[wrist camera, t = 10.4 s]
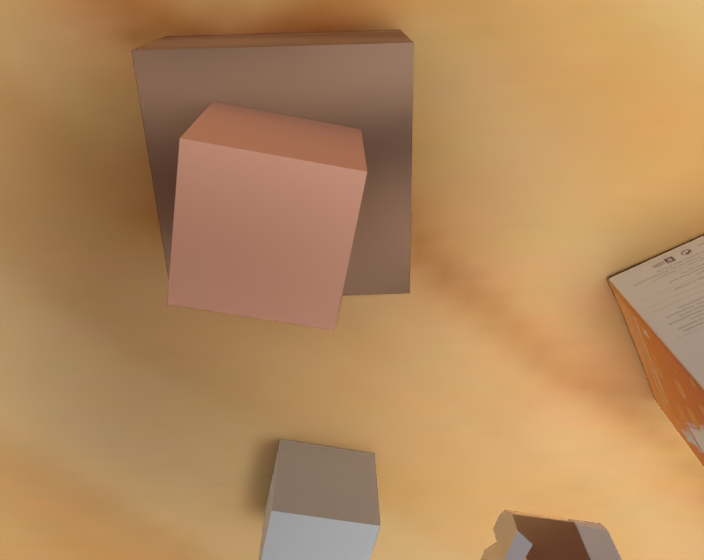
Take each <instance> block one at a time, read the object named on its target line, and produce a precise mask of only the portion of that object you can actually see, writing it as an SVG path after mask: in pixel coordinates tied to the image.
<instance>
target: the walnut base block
mask: <svg viewBox="0 0 704 560" xmlns="http://www.w3.org/2000/svg"><path fill="white" fill-rule="evenodd" d="M132 57H133V63H134V69H135V75H136V81H137V87H138V93H139V100H140V106H141V112H142V118H143V124H144V130H145V136H146V143H147V149H148V155H149V161H150V167H151V173H152V179H153V186H154V192H155V198H156V204H157V210H158V216H159V222H160V229H161V235H162V241H163V247H164V253H165V259H166V265H167V272H168V278H169V273H170V260H171V247H172V234H173V221H174V208H175V194H176V181H177V168H178V155H179V142H180V137H181V136H182V135H183V134H184V133H185V132H186V131H187V130H188V129H189V127H190V126H191V125H192V124H193V123H194V122H195V121H196V120H197V119H198V117H199V116H200V115H201V114H202V113H203V112H204V111H205V110H206V109H207V107H208V106H209V105H210V104H211V103H212V102H217V103H223V104H228V105H233V106H239V107H244V108H250V109H255V110H260V111H266V112H271V113H276V114H282V115H287V116H293V117H298V118H303V119H309V120H314V121H319V122H325V123H330V124H336V125H341V126H346V127H352V128H357V129H361V131H362V138H363V145H364V152H365V159H366V166H367V176H366V181H365V186H364V191H363V196H362V200H361V205H360V210H359V215H358V220H357V225H356V230H355V234H354V239H353V244H352V249H351V254H350V259H349V264H348V268H347V273H346V278H345V283H344V288H343V293H342V295H372V294H403V293H410V233H411V166H412V99H413V42H412V41H411V40H410V39H409V38H408V37H407V36H406V35H405V34H404V33H403V32H402V31H401V30H377V31H343V32H308V33H273V34H238V35H203V36H168V37H164V38H161V39H159V40H157V41H154V42H152V43H149V44H147V45H144V46H142V47H139V48H137V49H135V50H132Z"/></svg>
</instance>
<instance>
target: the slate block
mask: <svg viewBox="0 0 704 560" xmlns="http://www.w3.org/2000/svg"><path fill="white" fill-rule="evenodd" d="M379 529H380V516H379V503H378V491H377V478H376V466H375V453H369V452H362V451H356V450H349V449H342V448H336V447H329V446H323V445H316V444H310V443H303V442H297V441H290V440H284V439H280V441H279V446H278V451H277V456H276V460H275V465H274V470H273V475H272V480H271V484H270V489H269V494H268V499H267V504H266V508H265V515H264V523H263V531H262V538H261V546H260V554H259V560H370V557H371V554H372V551H373V548H374V545H375V541H376V538H377V535H378V532H379Z"/></svg>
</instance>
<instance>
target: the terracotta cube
mask: <svg viewBox="0 0 704 560" xmlns="http://www.w3.org/2000/svg"><path fill="white" fill-rule="evenodd" d="M366 176H367V166H366V159H365V152H364V145H363V138H362V131H361V129H357V128H352V127H346V126H341V125H336V124H330V123H325V122H319V121H314V120H309V119H303V118H298V117H293V116H287V115H282V114H276V113H271V112H266V111H260V110H255V109H250V108H244V107H239V106H233V105H228V104H223V103H217V102H212V103H211V104H210V105H209V106H208V107H207V109H206V110H205V111H204V112H203V113H202V114H201V115H200V116H199V117H198V119H197V120H196V121H195V122H194V123H193V124H192V125H191V126H190V127H189V129H188V130H187V131H186V132H185V133H184V134H183V135H182V136H181V137H180V142H179V155H178V168H177V181H176V194H175V208H174V221H173V234H172V247H171V260H170V273H169V287H168V300H167V305H173V306H179V307H186V308H192V309H199V310H205V311H212V312H218V313H225V314H231V315H238V316H244V317H251V318H257V319H264V320H270V321H277V322H283V323H290V324H296V325H303V326H309V327H316V328H322V329H329V330H335V327H336V322H337V317H338V312H339V307H340V302H341V298H342V293H343V288H344V283H345V278H346V273H347V268H348V264H349V259H350V254H351V249H352V244H353V239H354V234H355V230H356V225H357V220H358V215H359V210H360V205H361V200H362V196H363V191H364V186H365V181H366Z"/></svg>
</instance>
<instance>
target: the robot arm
mask: <svg viewBox="0 0 704 560" xmlns="http://www.w3.org/2000/svg"><path fill="white" fill-rule="evenodd" d="M493 529H494V533H495V537H496V541H497V542H496V543H494V544H493V545H491V546H490V547H488V548H487V549H485V550H484V553H483V555H482V558H481V560H622V559H621V557H620V555H619V553H618V551H617V549H616V547H615V545H614V543H613V541H612V539H611V536H610V534H609V532H608V530H607V529H606V528H605V527H604V526H603V525H602V524H600V523H593V522H586V521H579V520H572V519H568V520H566V519H562V518H556V517H549V516H543V515H536V514H530V513H523V512H517V511H510V510H504V511H503V512H502V513H501V514H500V515H499V517H498V519H497V521H496V524H495V526H494V528H493Z"/></svg>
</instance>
